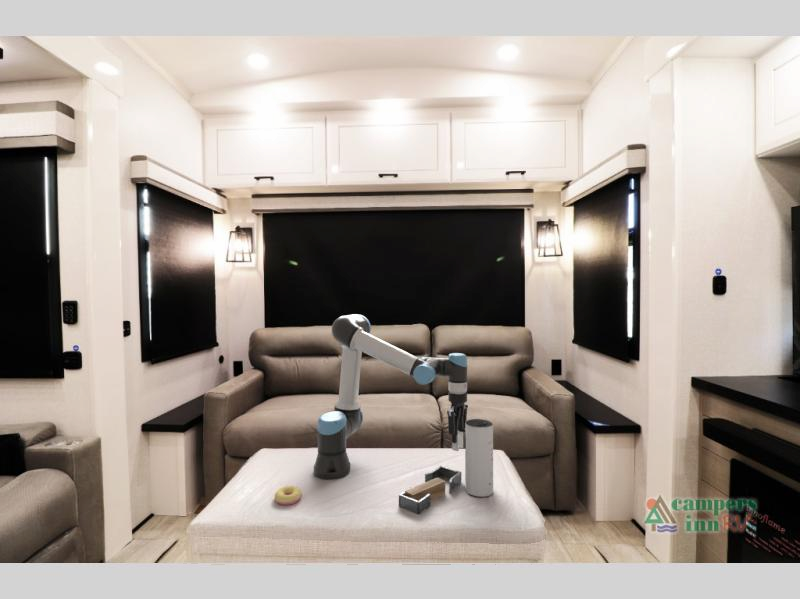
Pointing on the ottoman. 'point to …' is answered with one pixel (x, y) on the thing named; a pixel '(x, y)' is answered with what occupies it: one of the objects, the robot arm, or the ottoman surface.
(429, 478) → the cap
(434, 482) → the slat
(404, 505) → the cap
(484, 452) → the speaker
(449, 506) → the ottoman surface
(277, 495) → the donut
